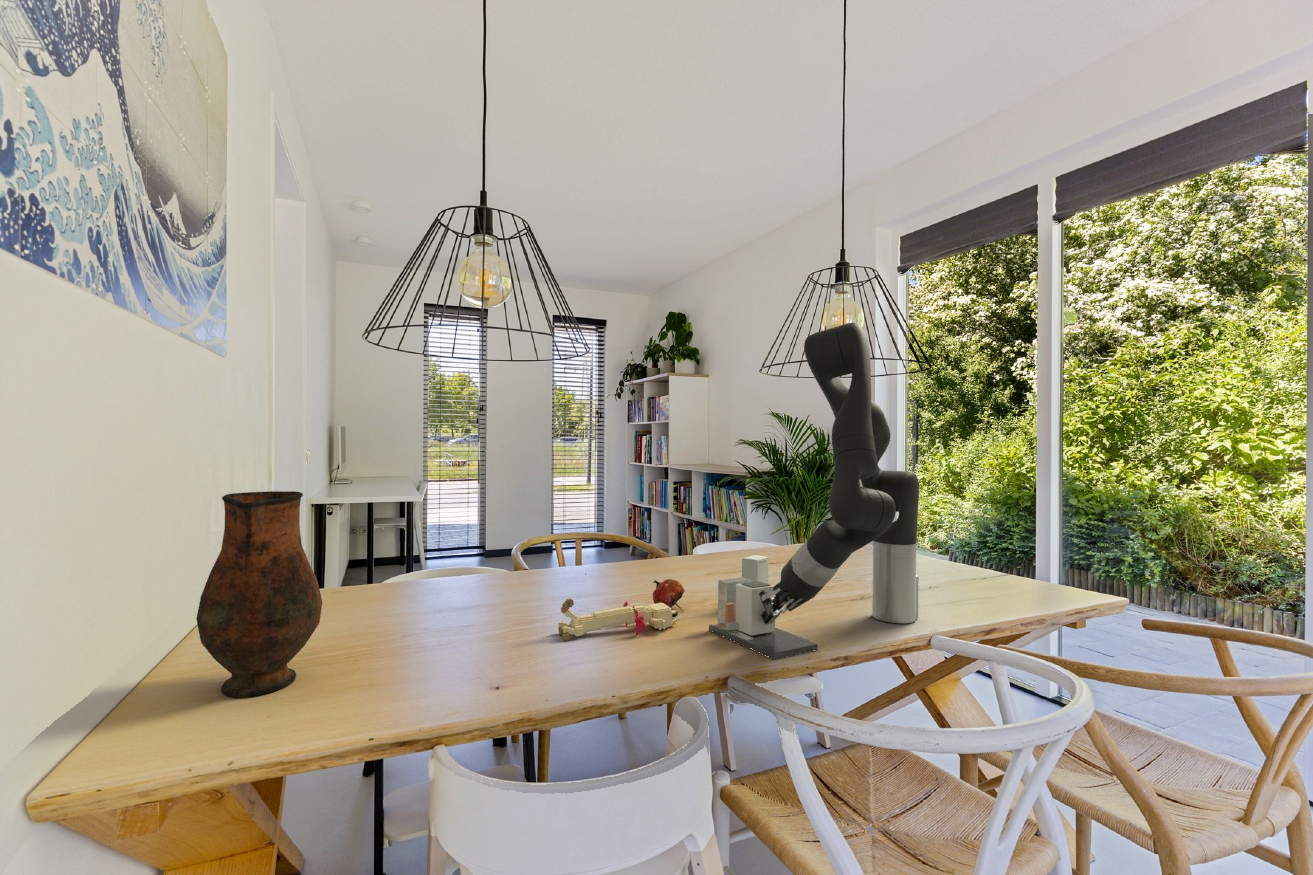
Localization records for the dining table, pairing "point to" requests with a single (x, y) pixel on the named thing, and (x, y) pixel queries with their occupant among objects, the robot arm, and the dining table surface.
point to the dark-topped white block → (750, 609)
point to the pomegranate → (668, 592)
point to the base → (765, 643)
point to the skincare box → (755, 568)
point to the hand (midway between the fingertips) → (765, 619)
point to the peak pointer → (728, 613)
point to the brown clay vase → (259, 594)
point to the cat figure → (616, 618)
